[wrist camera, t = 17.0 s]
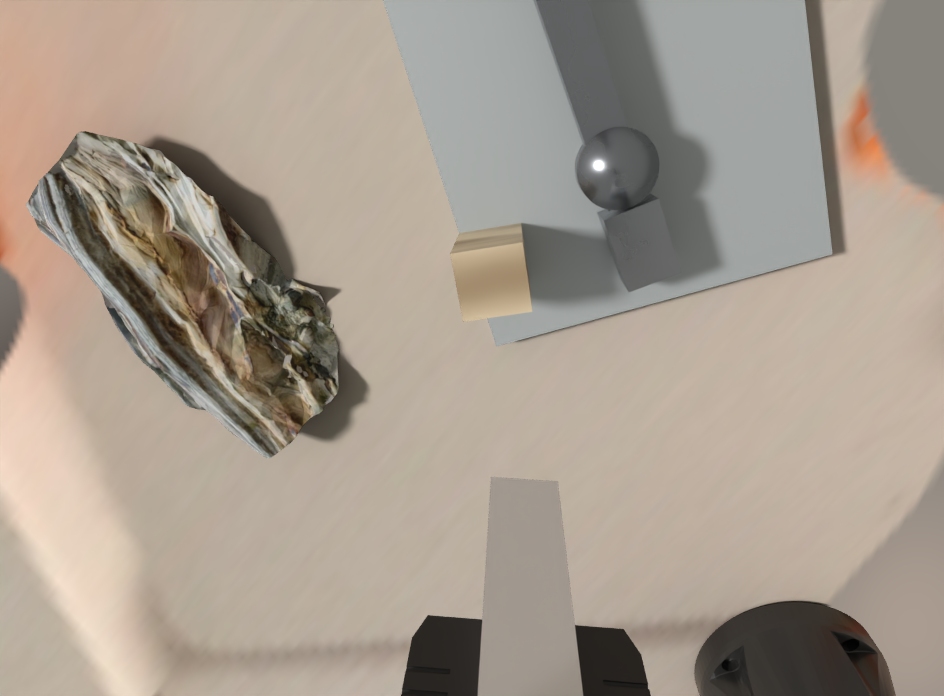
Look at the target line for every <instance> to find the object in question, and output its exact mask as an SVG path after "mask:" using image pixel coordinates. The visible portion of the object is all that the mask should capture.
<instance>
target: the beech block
mask: <svg viewBox="0 0 944 696" xmlns="http://www.w3.org/2000/svg"><path fill="white" fill-rule="evenodd" d="M450 255H451V260H452V265H453V271H454V276H455V281H456V287H457V292H458V297H459V302H460V308H461V313H462V318H463V322H465V321H472V320H479V319H486V318H493V317H500V316H507V315H514V314H521V313H528V312H533V311H532V301H531V290H530V281H529V274H528V267H527V260H526V253H525V246H524V239H523V232H522V225H521V223H518V224H511V225H505V226H499V227H493V228H487V229H481V230H475V231H469V232H462V233H459V235H458V238H457V240H456V242H455V244H454V247H453V249H452V251H451V253H450Z"/></svg>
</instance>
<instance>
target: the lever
mask: <svg viewBox="0 0 944 696" xmlns="http://www.w3.org/2000/svg"><path fill="white" fill-rule="evenodd" d="M533 1H534V4H535V7H536V10H537V13H538V15H539V18H540V21H541V24H542V27H543V30H544V33H545V36H546V39H547V42H548V45H549V47H550V50H551V53H552V56H553V59H554V62H555V65H556V68H557V71H558V74H559V76H560V79H561V82H562V85H563V88H564V91H565V94H566V97H567V100H568V103H569V106H570V108H571V111H572V114H573V117H574V120H575V123H576V126H577V129H578V132H579V135H580V137H581V140H582V143H583V144H582V146H581V147H580V149H579V151H578V153H577V156H576V160H575V177H576V181H577V183H578V186H579V188H580V189H581V191H582V192H583V193H584V194H585V196H586V197H587V198H588V199H589V200H590V201H591V202H592V203H594V204H595V205H597V206H599V207H601V208H604V210H602V211H599V212H597V214H598V217H599V219H600V222H601V225H602V228H603V231H604V234H605V237H606V239H607V242H608V245H609V248H610V251H611V254H612V257H613V260H614V262H615V265H616V268H617V271H618V274H619V277H620V279H621V281H622V283H623V284H624V286H625V287H626V289H627V290H628V292H632V291H634V290H637V289H640V288H642V287H645V286H648V285H650V284H653V283H656V282H658V281H661V280H664V279H666V278H669V277H672V276H674V275H677V274H680V273H682V271H681V268H680V265H679V262H678V259H677V255H676V252H675V249H674V246H673V243H672V239H671V236H670V233H669V230H668V227H667V223H666V220H665V217H664V214H663V211H662V207H661V204H660V201H659V198H657V197H655V196H654V195H652V194H650V192H651V191H652V189H653V187H654V186H655V183H656V181H657V178H658V175H659V166H660V163H659V156H658V152H657V150H656V147H655V145H654V144H653V142H652V141H651V140H650V139H649V138H648V137H647V136H646V135H645V134H644V133H642V132H640V131H639V130H636V129H633V128H629V127H628V125H627V121H626V118H625V115H624V112H623V109H622V106H621V102H620V99H619V96H618V93H617V90H616V87H615V84H614V80H613V77H612V74H611V71H610V68H609V65H608V61H607V58H606V55H605V52H604V49H603V46H602V42H601V39H600V36H599V33H598V30H597V27H596V23H595V20H594V17H593V14H592V11H591V8H590V5H589V1H588V0H533Z"/></svg>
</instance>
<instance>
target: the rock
mask: <svg viewBox="0 0 944 696" xmlns="http://www.w3.org/2000/svg"><path fill="white" fill-rule="evenodd" d="M26 206H27V208H28V210H29V212H30V214H31V215H32V217H34V219H35V221H36V224H37V226H38V228H39V229H40V231H42V232H43V233H44V234H45V235H46V236H47V237H48V238H50V239H51V240H52V241H53V242H54V243H55V244H57V245H58V246H59V247H60V248H62V249H63V250H64V251H65V252H66V253H68V254H69V255H70V256H72V257H73V258H74V260H75V261H76V262H77V264H78V265H79V266H80V267H81V268H82V269H83V270H84V271H85V272H86V273H87V275H88V276H89V277H90V278H91V280H92V281H93V282H94V283H95V285H96V286H97V287H98V288H99V289H100V291H101V293H102V295H103V298H104V301H105V305H106V307H107V309H108V311H109V313H110V314H111V316H112V318H113V321H114V323H115V325H116V326H117V328H118V330H119V331H120V333H121V334H122V336H123V337H124V339H125V340H126V342H127V343H128V344H129V346H130V347H131V349H132V350H133V351H134V352H135V354H136V355H137V356H138V357H139V358H140V359H141V361H142V362H143V363H144V364H146V365H147V366H149V367H150V368H151V369H152V370H153V371H155V373H156V374H157V375H158V376H159V377H160V378H161V379H162V380H163V381H164V382H165V383H166V384H167V386H168V387H169V388H170V389H171V390H172V391H174V392H175V393H176V394H177V395H178V396H179V397H180V399H181V400H182V402H183V403H184V404H185V405H187V406H189V407H192V408H195V409H201V410H207V411H208V412H209V413H210V414H211V415H213V416H214V417H215V418H216V419H217V420H218V421H219V422H220V423H221V424H222V425H223V426H224V427H225V428H226V429H228V430H229V431H230V432H231V433H232V434H234V435H235V436H237V437H238V438H240V439H241V440H242V441H244V442H245V443H246V444H248V445H249V446H250V447H251V448H253V449H254V450H255V451H257V452H258V453H259V454H261V455H262V456H264V457H266V458H270V457H272V456H274V455H275V454H277V453H278V452H279V451H281V450H282V449H283V448H284V447H286V446H287V445H288V444H290V443H291V442H292V441H293V439H294V438H295V437H296V436H297V434H298V433H299V431H300V429H301V428H302V426H303V425H304V424H305V423H306V422H307V421H308V420H309V419H310V418H312V417H313V416H315V415H317V414H319V413H321V412H322V411H323V410H324V408H325V405H327V404H328V403H329V402H331V401H332V399H333V398H334V397H335V395H336V394H337V392H338V389H339V384H338V358H337V353H338V350H339V348H338V345H337V343H336V340H335V336H336V335H335V334H334V333H333V332H332V328H333V324H331V323H330V317H327V316H326V314H325V310H324V308H320V307H319V305H318V304H317V302H316V301H315V300H314V299H313V298H314V296H316V297H319V298H320V300H321V301H322V302H323V304H324V301H323V298H322V296H321V294H320V292H319V291H316V290H313V289H311V288H308V287H305V286H302V285H301V284H299V283H298V282H297V281H295V280H293V279H291V280H290V281H287V280H286V278H285V276H284V274H283V272H282V270H281V268H280V266H279V265H278V263H277V261H276V259H275V258H274V257H272V256H271V255H270V254H268V253H267V252H266V251H264V250H263V249H262V248H261V247H259V246H258V244H256V243H255V242H252V241H251V238H250V236H249V235H248V234H247V233H245V232H244V231H243V230H242V229H241V228H240V227H239V225H238V224H237V223H236V222H235V221H234V220H233V219H232V218H231V217H230V216H229V214H228V213H227V212H226V211H225V209H224V208H223V206H222V205H221V204H220V203H219V202H218V201H217V200H216V199H215V197H213V196H210V195H208V194H206V193H205V192H203V191H202V190H201V189H200V188H199V187H198V186H197V185H196V184H195V182H194V181H193V180H192V179H191V178H189V177H187V176H185V175H184V173H183V172H182V171H181V170H180V169H179V168H178V167H177V166H176V165H175V164H174V163H173V162H171V161H170V160H168V159H167V158H166V157H165V156H164V154H163V153H162V152H161V151H160V150H155V149H150V148H147V147H144V146H141V145H139V144H136V143H132V142H128V141H124V140H120V139H116V138H112V137H107V136H102V135H98V134H94V133H90V132H86V131H85V132H80V133H78V134H77V135H76V136H75V138H74V139H73V140H72V142H71V143H70V145H69V146H68V148H67V149H66V151H65V152H64V154H63V155H62V157H61V158H60V159H59V161H58V162H57V163H56V164H55V165H54V166H53V167H52V168H51V169H50V171H49V172H48V173H47V174H46V175H45V176H44V177H43V178H42V179H41V180H39V183H38V185H37V187H36V188H35V190H34V191H33V193H32V195H31V197H30V199H29V201H28V202H27V204H26ZM324 305H325V304H324Z"/></svg>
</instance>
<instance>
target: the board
mask: <svg viewBox="0 0 944 696" xmlns="http://www.w3.org/2000/svg"><path fill="white" fill-rule="evenodd" d="M588 1H589V5H590V8H591V11H592V14H593V17H594V20H595V23H596V27H597V30H598V33H599V36H600V39H601V42H602V46H603V49H604V52H605V55H606V58H607V61H608V65H609V68H610V71H611V74H612V77H613V80H614V84H615V87H616V90H617V93H618V96H619V99H620V102H621V106H622V109H623V112H624V115H625V118H626V121H627V125H628V127H629V128H633V129H636V130H639V131H640V132H642V133H644V134H645V135H646V136H647V137H648V138H649V139H650V140H651V141H652V142H653V144H654V145H655V147H656V150H657V152H658V156H659V163H660V166H659V175H658V178H657V181H656V183H655V186H654V187H653V189H652V191H651V192H650V194H652V195H654V196H655V197H657V198H659V201H660V204H661V207H662V211H663V214H664V217H665V220H666V223H667V227H668V230H669V233H670V236H671V239H672V243H673V246H674V249H675V252H676V255H677V259H678V262H679V265H680V268H681V271H682V273H680V274H677V275H674V276H672V277H669V278H666V279H664V280H661V281H658V282H656V283H653V284H650V285H648V286H645V287H642V288H640V289H637V290H634V291H632V292H628V290H627V289H626V287H625V286H624V284H623V283H622V281H621V279H620V277H619V274H618V271H617V268H616V265H615V262H614V260H613V257H612V254H611V251H610V248H609V245H608V242H607V239H606V237H605V234H604V231H603V228H602V225H601V222H600V219H599V217H598V214H597V212H599V211H602V210H604V208H601V207H599V206H597V205H595V204H594V203H592V202H591V201H590V200H589V199H588V198H587V197H586V196H585V194H584V193H583V192H582V191H581V189H580V188H579V186H578V183H577V181H576V177H575V160H576V156H577V153H578V151H579V149H580V147H581V146H582V144H583V143H582V140H581V137H580V135H579V132H578V129H577V126H576V123H575V120H574V117H573V114H572V111H571V108H570V106H569V103H568V100H567V97H566V94H565V91H564V88H563V85H562V82H561V79H560V76H559V74H558V71H557V68H556V65H555V62H554V59H553V56H552V53H551V50H550V47H549V45H548V42H547V39H546V36H545V33H544V30H543V27H542V24H541V21H540V18H539V15H538V13H537V10H536V7H535V4H534V1H533V0H383V2H384V5H385V8H386V11H387V14H388V17H389V20H390V23H391V26H392V29H393V32H394V35H395V38H396V41H397V44H398V47H399V51H400V54H401V57H402V60H403V63H404V66H405V69H406V72H407V75H408V78H409V81H410V84H411V87H412V90H413V93H414V96H415V99H416V102H417V105H418V109H419V112H420V115H421V118H422V121H423V124H424V127H425V130H426V133H427V136H428V139H429V142H430V145H431V148H432V151H433V154H434V157H435V160H436V163H437V166H438V170H439V173H440V176H441V179H442V182H443V185H444V188H445V191H446V194H447V197H448V200H449V203H450V206H451V209H452V212H453V215H454V218H455V221H456V224H457V228H458V231H459V233H462V232H469V231H475V230H481V229H487V228H493V227H499V226H505V225H511V224H518V223H521V225H522V232H523V239H524V246H525V253H526V260H527V267H528V274H529V281H530V290H531V301H532V311H533V312H528V313H521V314H514V315H507V316H500V317H493V318H487V319H488V322H489V325H490V328H491V331H492V334H493V337H494V340H495V343H496V346H500V345H504V344H507V343H511V342H515V341H518V340H522V339H526V338H529V337H533V336H537V335H540V334H544V333H548V332H551V331H555V330H558V329H562V328H566V327H569V326H573V325H577V324H580V323H584V322H588V321H591V320H595V319H599V318H602V317H606V316H610V315H613V314H617V313H620V312H624V311H628V310H631V309H635V308H639V307H642V306H646V305H650V304H653V303H657V302H661V301H664V300H668V299H672V298H675V297H679V296H682V295H686V294H690V293H693V292H697V291H701V290H704V289H708V288H712V287H715V286H719V285H723V284H726V283H730V282H734V281H737V280H741V279H744V278H748V277H752V276H755V275H759V274H763V273H766V272H770V271H774V270H777V269H781V268H785V267H788V266H792V265H796V264H799V263H803V262H806V261H810V260H814V259H817V258H821V257H825V256H828V255H832V245H831V236H830V227H829V217H828V208H827V199H826V190H825V181H824V172H823V162H822V153H821V144H820V135H819V126H818V117H817V107H816V98H815V89H814V80H813V71H812V61H811V52H810V43H809V34H808V25H807V16H806V6H805V0H588Z"/></svg>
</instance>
